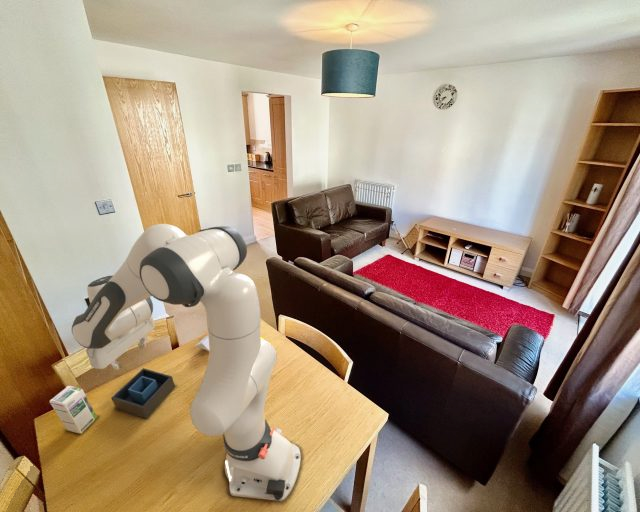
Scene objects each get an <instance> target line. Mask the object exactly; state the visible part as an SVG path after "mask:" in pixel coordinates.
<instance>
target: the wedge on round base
mask: <svg viewBox="0 0 640 512" xmlns="http://www.w3.org/2000/svg"><path fill="white" fill-rule="evenodd" d="M194 346H195V347H197V348H199V349H201V350H205V351H207V352H209V351H210V349H209V335H208V334H207V335H205V336H204V337H203V338H202V339H201V340H199V342H197V343H196V344H195V345H194Z"/></svg>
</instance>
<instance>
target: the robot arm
mask: <svg viewBox="0 0 640 512" xmlns="http://www.w3.org/2000/svg"><path fill="white" fill-rule="evenodd" d="M247 254H248V247H247V243H246V241H245V239H244V237H243V236H242V234H241V233H240V232H239V231H238V230H237V229H235V228H234V227H230V226H226V225H225V226H224V225H223V226H213V227H208V228H204V229H203V228H202V229H200V230H199V231H198V232H196V233H192V234H186V233H185V232H184V231H183V230H182V229H181V228H179V227H178V226H175V225H172V224H169V223H157V224H154V225H151V226H149V227H147V228H146V229H145V230H144V231H143V232H142V233H141V234H140V236H139V237H138V238H137V239H136V241H135V242H134V243H133V245H132V247H131V248H130V251H129V253H128V255H127V257H126V258H125V260H124V261H123V263H122V264H121V266H120V267H119V269H117V271H116V272H115V273H114V274H113V275H107V276H102V277H100V278H98V279H95V280H93V281H91V282H90V283H88V285H87V287H86V290H87V291H86V293H87V297H88V300H89V305H88V306H87V307H86V310H85V311H84V312H83V313H81V314H79V315H77V316H76V317H75V318H74V320H73V322H72V324H71V325H72V326H71V334H72V336H73V338H74V340H75V341H76V342H77V343H78V344H79V345H80V346H82V347H83V348H85V349H86V350H85V353H86V355H87V356H88V361H89V365H90V366H91V367H92V368H94V369H96V370H104V369H106V368H107V367H109V365H110V366H112V368H113V370H116V371H119V370H120V369H121V368H122V367H123V365H122V363H121V362H120V361H119V362H118V361H116V360H117V359H118V358H120V357H121V356H122V355H123V354H124V353H126V352H127V351H128V350H129V349H131V348H132V347H133V346H135V345H136V344H137V343H138V344H137V346H138V348H139V349H141V350H142V349H144V348H146V347H147V343H146V342H147V339H148V334H150V333H151V332H152V331H153V330H155V326H156V323H155V320H154V318H153V311H154V304H153V300H152V298H151V297H153V298H154V299H156V300H157V301H160V302H163V303H166V304H170V305H174V306H177V305H178V306H179V305H182V306H183V307H185V308H193V307H196V306H197V305H199V303H201V304H202V306H203V307H204V309H205V314H206V325H207V335H209V349H210V351H208V353H209V354H208V359H207V363H206V367H205V371H204V373H203V374H204V375H203V378H202V379H201V384H200V386H199V388H198V391H197V392H196V395H195V397H194V399H193V400H192V401H191V404H190V405H189V417H190V420H191V424H192V425H193V427H194V429H195V430H197V431H198V432H199V433H200V434H203V435H204V436H207V437H208V436H209V437H218V436H223V447H224V449H225V452H226V455H225V456H226V457H225V459H224V473H225V476H226V478H227V481H228V484H229V494H230V495H231V496H232V497H241V498H249V499H259V500H268V501H277V502H282V501H285V499H287V497H288V496H289V495H290V493H291V492H292V490H293V488H294V487H295V485H296V481H297V478H298V476H299V472H300V467H301V461H302V460H301V459H302V457H301V456H302V455H301V450H300V448H299V447H298V446H297V445H295V444H294V443H292V442H291V441H289V439H287V438H286V437H284V436H283V431H282V429H280V428H279V427H277V428H275V426H274V425H273V426H272V427H271V426H270V425H269V423H268V421H267V419H266V414H265V406H266V401H267V398H268V394H269V393H268V392H269V388H270V383H271V379H272V375H273V372H274V369H275V367H276V365H277V361H278V354H277V351H276V349H275V347H274V346H273V345H272V344H271V342H269V341H268V340H266V339H264V338H263V339H264V340H263V339H261V337H262V327H261V326H262V325H261V323H262V318H261V316H262V315H261V306H260V299H259V294H258V290H257V286H256V284H255V282H254V280H253V279H252V278H250V276H248V275H246V274H243V273H240V272H234V271H235V270H237V269H238V268H239V267H240V266H241V265H242V264H243V262H245V260H246V257H247ZM287 488H288V489H287Z"/></svg>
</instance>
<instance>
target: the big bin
mask: <svg viewBox="0 0 640 512" xmlns="http://www.w3.org/2000/svg"><path fill="white" fill-rule="evenodd" d="M142 376H144V377H147V378H151V379H154V380H156V383H157V386H158V390H157V391H156V392H155V393H154V394H153V396H152V397H151V398H150V399H149V400H148V401H147V402H146V403H145V404H144V405H143V404H140V403H137V402H134V401H132V399H131V396H130V394H129V391H128V389H129V388H130V387H131V386H132V385H133V384H134V383H135V382H136V381H137V380H138V379H139V378H141V377H142ZM175 387H176V385H175V382H174V379H173V375H169V374H165V373H162V372H159V371H156V370H155V371H154V370H151V369H149V368H148V369H147V368H144V367H143V368H142V369H140V370H139V371H138V372H137V373H136V374H135V375H134V376H133V377H132V378H131V379H130V380H129V381H128V382H127V383H125V384H124V385H123V386H122V387H121V388H120V389H119V390H117V392H116V393H114V394H113V396H111V400H112V402H113V405H114V408H115V409H117V410H120V411H123V412H126V413H129V414H132V415H134V416H137V417H140V418H143V419H148V418H149V417H150V416H151V414H153V412H154V411H155V410H156V409H157V408H158V407H159V405H161V403H162V402H163V401H164V400H165V398H167V396H169V394H170V393H171V392H172V391H173V390H174V388H175Z"/></svg>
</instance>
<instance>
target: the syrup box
mask: <svg viewBox="0 0 640 512" xmlns="http://www.w3.org/2000/svg"><path fill="white" fill-rule="evenodd" d="M49 404H50V406H51V407H52V408H53V410H54V412H55V413H56V415H57V416H58V418H59V420H60V421H61V423H62V424H63V426H64V427H65V429H66V431H68V432H73V433H77V434H80V435H81V434H83V433H84V431H86V429H87V428H89V427H90V426H91V425H92V424H93V423H94V422H95V421H96V420H97V419H98V416H97V414H96V412H95V410H94V409H93V407H92V404H91V403H90V401H89V399H88V397H87V395H86V393H85V392H84V389H82V388H81V387H77V386H73V385H67V386H66V387H65V388H64V389H62V390H61V391H59V392H58V393H57V394H56V395H55V396H54V397H52V398H51V399H50V400H49Z"/></svg>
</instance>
